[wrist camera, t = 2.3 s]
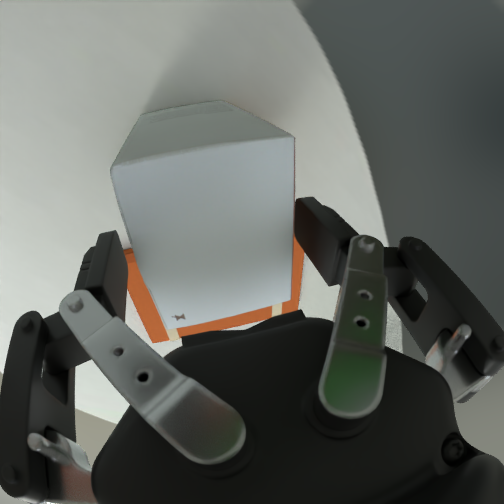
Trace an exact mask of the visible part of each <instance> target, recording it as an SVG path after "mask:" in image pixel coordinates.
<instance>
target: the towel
mask: <svg viewBox="0 0 504 504" xmlns="http://www.w3.org/2000/svg"><path fill="white" fill-rule="evenodd" d="M123 251H124V254H125V257H126V260H127V264H128V283H127V289H128V291H129V294H130V296H131V298H132V300H133V303H134V305H135V307H136V309H137V312H138V314H139V316H140V318H141V320H142V322H143V324H144V327H145V329H146V331H147V333H148V335H149V337H150V339H151V341H152V343H157V342H163V341H168V340H170V341H174V340H179V339H180V338H181V336H187V335H192V334H197V333H202V332H207V331H216V330H223V329H227V328H232V327H236V326H241V325H245V324H249V323H253V322H258V321H262V320H266V319H269V318H271V317H273V316H277V315H281V314H285V313H289V312H293V311H296V310H298V304H299V296H300V287H301V279H302V270H303V260H304V250H303V249H302V248H301V246H300V245H299V243H298V242H297V240H296V238H295V235H294V252H293V274H292V297H291V300H289V301H286V302H282V303H278V304H275V305H272V306H268V307H265V308H261V309H257V310H254V311H250V312H246V313H242V314H238V315H235V316H231V317H226V318H222V319H218V320H214V321H210V322H205V323H201V324H196V325H192V326H186V327H181V328H175V329H170V330H167V329H166V328H165V326H164V324H163V321H162V319H161V317H160V315H159V313H158V311H157V308H156V306H155V304H154V302H153V299H152V297H151V295H150V293H149V291H148V289H147V287H146V285H145V283H144V281H143V278H142V276H141V274H140V271H139V269H138V266H137V263H136V260H135V256H134V253H133V250H132V248H131V249H126V250H123Z"/></svg>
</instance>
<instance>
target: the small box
mask: <svg viewBox="0 0 504 504" xmlns="http://www.w3.org/2000/svg"><path fill="white" fill-rule="evenodd" d="M110 174H111V179H112V182H113V187H114V191H115V194H116V198H117V202H118V205H119V209H120V212H121V216H122V219H123V222H124V225H125V228H126V231H127V234H128V237H129V240H130V243H131V247H132V250H133V253H134V256H135V260H136V263H137V266H138V269H139V271H140V274H141V276H142V278H143V281H144V283H145V285H146V287H147V289H148V291H149V293H150V295H151V297H152V299H153V302H154V304H155V306H156V308H157V311H158V313H159V315H160V317H161V319H162V321H163V324H164V326H165V328H166V329H167V330H170V329H175V328H181V327H186V326H192V325H196V324H201V323H205V322H210V321H214V320H218V319H222V318H226V317H231V316H235V315H238V314H242V313H246V312H250V311H254V310H257V309H261V308H265V307H268V306H272V305H275V304H278V303H282V302H286V301H289V300H291V297H292V274H293V252H294V218H295V137H294V136H293V135H291V134H289V133H288V132H286V131H284V130H282V129H280V128H278V127H276V126H274V125H273V124H271V123H269V122H267V121H265V120H263V119H261V118H259V117H257V116H255V115H253V114H251V113H249V112H247V111H245V110H243V109H241V108H238V107H236V106H234V105H232V104H230V103H227V102H225V101H223V100H219V101H211V102H204V103H198V104H192V105H186V106H180V107H174V108H169V109H164V110H159V111H155V112H150V113H146V114H142V115H141V116H140V117H139V119H138V121H137V122H136V124H135V125H134V127H133V129H132V130H131V132H130V134H129V136H128V137H127V139H126V141H125V143H124V144H123V146H122V148H121V150H120V152H119V153H118V155H117V157H116V159H115V161H114V162H113V164H112V166H111V169H110Z"/></svg>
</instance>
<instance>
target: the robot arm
mask: <svg viewBox="0 0 504 504" xmlns="http://www.w3.org/2000/svg"><path fill="white" fill-rule="evenodd" d="M294 235H295V238H296V240H297V242H298V243H299V245H300V246H301V248H302V249H303V250H304V252H305V253H306V255H307V256H308V257H309V259H310V260H311V262H312V263H313V265H314V266H315V267H316V269H317V270H318V272H319V273H320V274H321V276H322V277H323V279H324V280H325V282H326V283H327V285H328V286H329V287H330V286H333V285H337V284H339V285H340V286H341V287H340V291H339V295H338V300H337V304H336V309H335V313H334V317H333V321H330V320H326V319H322V318H313V317H305V315H304V313H303V311H302V310H301V309H300V310H296V311H293V312H289V313H285V314H281V315H277V316H273V317H271V318H269V319H267V320H265V321H263V322H261V323H259V324H257V325H255V326H253V327H251V328H248V329H246V330H216V331H207V332H202V333H197V334H192V335H187V336H181V338H182V345H183V346H181V347H179V348H177V349H175V350H173V351H171V352H170V353H169V354H167V355H166V356H165V357H164V358H162V357H161V356H160V355H159V354H158V353H157V352H156V351H154V350H153V349H152V348H151V347H150V346H149V345H148V344H147V343H145V342H144V341H143V340H142V339H141V338H140V337H139V336H138V335H137V334H136V333H135V332H134V331H132V330H131V329H130V328H129V327H128V326H127V325H126V324H125V311H126V296H127V283H128V264H127V260H126V257H125V254H124V251H123V248H122V245H121V242H120V239H119V236H118V233H117V232H116V230H114V231H110V232H105V233H101V234H99V236H98V240H97V243H96V246H94V247H91V248H90V249H89V250H88V251H87V252H86V254H85V255H84V258H83V261H82V265H81V267H80V271H79V274H78V278H77V281H76V285H75V288H74V291H73V292H71V293H69V294H68V295H67V296H66V297H65V298H64V299H63V300H62V301H61V303H60V306H59V312H57V313H55V314H53V315H51V316H48V317H46V318H44V319H43V318H42V316H41V315H40V314H39V313H38V312H37V311H30V312H27V313H25V314H24V315H22V316H21V317H20V318H19V319H18V320H17V322H16V324H15V326H14V329H13V333H12V337H11V341H10V345H9V349H8V354H7V358H6V363H5V368H4V374H3V379H2V386H1V392H0V485H1V487H2V489H3V490H4V491H5V492H6V493H7V494H8V495H10V496H12V497H14V498H17V499H20V500H23V501H26V502H28V503H30V504H504V465H503V464H502V463H501V462H500V461H499V460H498V459H497V458H495V457H494V456H492V455H489V454H486V453H484V452H482V451H480V450H478V449H476V448H474V447H473V446H471V445H470V444H469V443H467V442H466V441H465V440H464V438H463V437H462V436H461V434H460V431H459V429H458V425H457V422H456V418H455V412H454V405H453V404H454V403H455V402H457V403H464V402H467V401H468V400H469V399H470V398H471V397H473V395H475V394H476V393H477V392H478V391H479V390H480V389H481V388H482V387H483V386H484V385H485V384H486V383H487V382H488V381H489V380H490V379H491V378H492V377H493V376H494V375H495V374H496V373H497V372H498V371H499V370H500V369H501V368H502V367H503V366H504V331H503V330H502V329H501V327H500V326H499V325H498V324H497V322H496V321H495V320H494V319H493V317H492V316H491V315H490V313H488V311H487V310H486V308H485V307H484V306H483V305H482V304H481V302H480V301H479V300H478V299H477V298H476V296H475V295H474V294H473V293H472V292H471V291H470V290H469V288H468V287H467V286H466V285H465V284H464V283H463V282H462V281H461V280H460V278H459V277H458V276H457V275H456V274H455V273H454V272H453V271H452V270H451V269H450V268H449V267H448V266H447V264H446V263H445V262H444V261H442V259H441V258H440V257H439V256H438V255H437V254H436V253H435V252H434V251H433V250H432V249H431V248H430V247H429V246H428V245H427V244H426V243H424V242H423V241H422V240H420V239H417V238H414V237H403V238H402V239H401V240H400V243H399V246H398V247H384V246H383V244H382V243H381V242H380V241H379V240H378V239H376V238H374V237H372V236H368V235H359V234H358V233H357V232H356V231H355V230H354V229H353V228H352V227H351V226H350V225H349V224H348V223H347V222H345V220H344V219H343V218H342V217H340V215H339V214H338V213H336V212H335V211H334V210H333V209H331V208H329V207H327V206H325V205H323V206H322V205H321V204H320V203H319V202H318V201H317V200H316V199H315V198H314V197H305V198H298V199H296V201H295V218H294ZM418 281H419V282H420V283H421V284H422V285H423V287H424V288H425V289H426V291H427V294H428V300H427V303H426V302H425V300H424V299H423V298H422V296H421V295H420V294H419V293H418V291H417V290H416V289H415V287H416V285H417V282H418ZM388 302H389V303H390V305H391V306H392V308H393V309H394V311H395V312H396V313H397V315H398V316H399V318H400V319H401V321H402V322H403V324H404V325H405V326H406V328H407V329H408V331H409V332H410V334H411V335H412V337H413V338H414V340H415V341H416V343H417V344H418V346H419V348H420V349H421V351H422V352H423V354H424V355H425V357H426V358H425V360H426V361H425V362H426V364H424V363H422V362H419V361H417V360H415V359H413V358H411V357H409V356H406V355H404V354H402V353H400V352H398V351H395V350H393V349H391V348H389V347H387V346H385V338H386V324H387V303H388ZM91 359H92V360H93V361H94V363H95V364H96V365H97V367H98V368H99V369H100V370H101V372H102V373H103V374H104V375H105V376H106V378H107V379H108V380H109V381H110V382H111V384H112V385H113V386H114V387H115V388H116V389H117V390H118V392H119V393H120V394H121V395H122V396H123V397H124V398H125V399H126V400H127V402H128V403H129V404H130V406H129V407H128V409H127V410H126V412H125V413H124V415H123V417H122V418H121V420H120V421H119V423H118V424H117V426H116V428H115V429H114V431H113V432H112V434H111V435H110V437H109V438H108V440H107V442H106V443H105V445H104V446H103V448H102V450H101V451H100V453H99V454H98V456H97V457H96V460H95V461H94V464H93V467H92V468H91V466H90V464H89V461H88V457H87V455H86V452H85V451H84V450H83V448H82V447H81V446H79V445H78V444H76V430H75V366H78V365H80V364H82V363H84V362H87V361H89V360H91ZM42 368H43V372H42Z"/></svg>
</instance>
